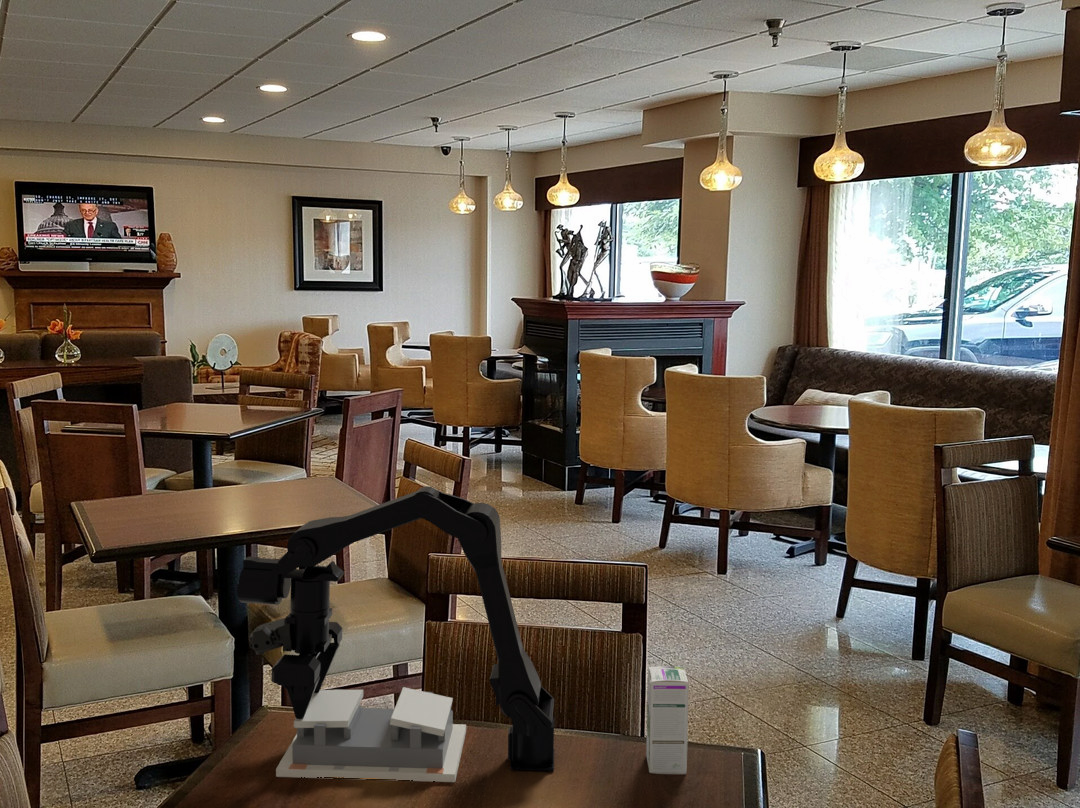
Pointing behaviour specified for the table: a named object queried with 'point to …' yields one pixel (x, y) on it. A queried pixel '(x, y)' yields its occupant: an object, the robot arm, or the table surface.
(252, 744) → the table surface
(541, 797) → the table surface
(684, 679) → the syrup box
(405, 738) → the box
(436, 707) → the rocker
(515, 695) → the robot arm
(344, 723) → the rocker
